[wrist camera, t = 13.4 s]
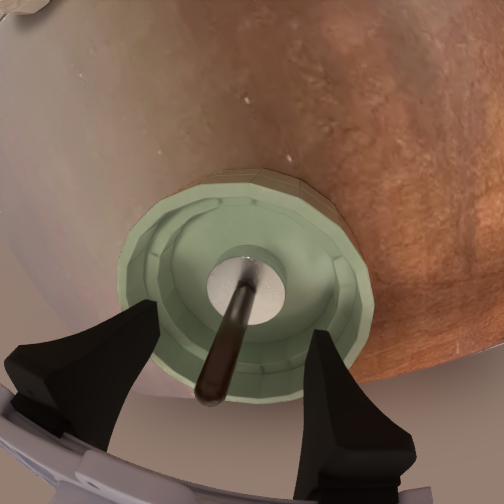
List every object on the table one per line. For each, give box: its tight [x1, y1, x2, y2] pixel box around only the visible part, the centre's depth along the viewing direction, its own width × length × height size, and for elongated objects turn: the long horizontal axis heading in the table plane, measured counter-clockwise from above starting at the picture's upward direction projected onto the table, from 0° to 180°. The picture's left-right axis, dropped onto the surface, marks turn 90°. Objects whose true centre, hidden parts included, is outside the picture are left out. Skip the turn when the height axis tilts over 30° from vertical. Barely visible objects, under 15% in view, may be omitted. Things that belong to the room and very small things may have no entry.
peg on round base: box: [194, 245, 287, 407], centre depth 14 cm, size 4×4×9 cm
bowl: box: [117, 168, 375, 404], centre depth 16 cm, size 13×13×5 cm
